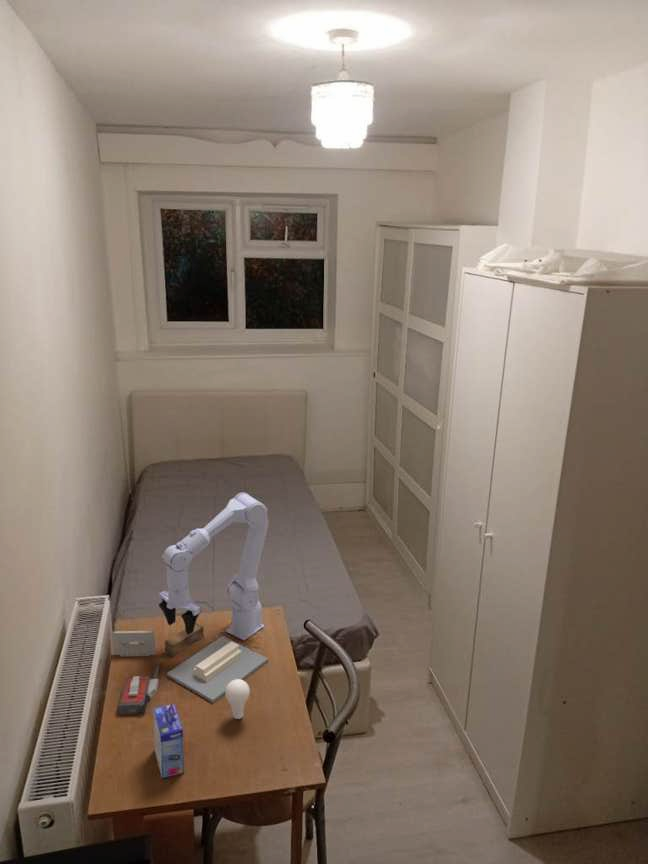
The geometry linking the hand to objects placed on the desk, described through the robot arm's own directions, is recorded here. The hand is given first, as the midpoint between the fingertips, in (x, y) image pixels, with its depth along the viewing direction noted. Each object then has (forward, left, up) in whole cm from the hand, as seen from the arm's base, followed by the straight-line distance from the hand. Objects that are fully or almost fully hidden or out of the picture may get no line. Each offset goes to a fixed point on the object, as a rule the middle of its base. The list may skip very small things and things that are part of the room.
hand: (180, 627), depth 190 cm
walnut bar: (-4, -3, -9) cm, 10 cm away
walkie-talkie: (+18, +3, -9) cm, 20 cm away
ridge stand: (-2, +13, -9) cm, 16 cm away
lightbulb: (+9, +31, -9) cm, 34 cm away
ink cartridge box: (+29, +28, -9) cm, 42 cm away
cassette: (+8, -11, -9) cm, 17 cm away
